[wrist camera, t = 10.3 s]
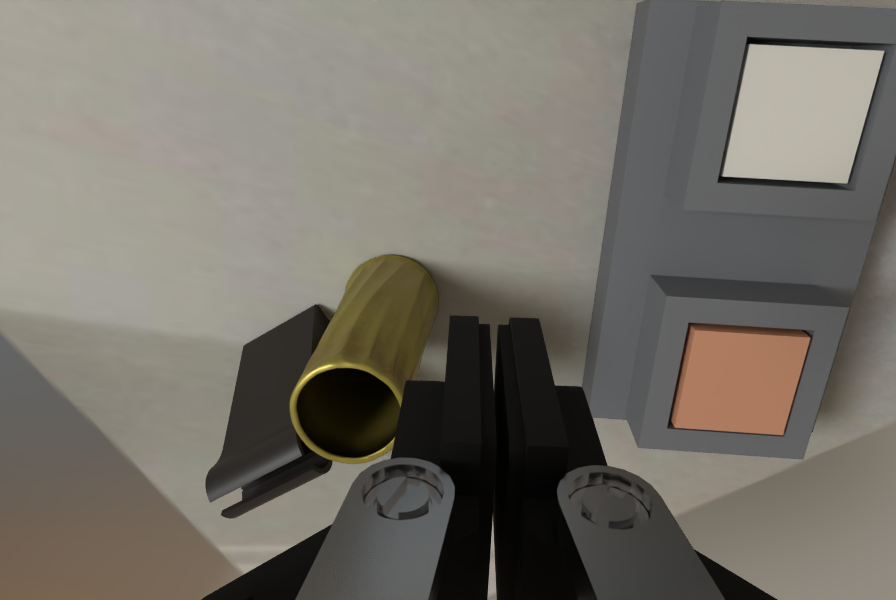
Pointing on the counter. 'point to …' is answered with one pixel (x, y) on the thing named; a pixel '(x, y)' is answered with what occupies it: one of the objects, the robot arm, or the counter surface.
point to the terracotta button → (738, 378)
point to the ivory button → (799, 112)
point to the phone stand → (268, 418)
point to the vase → (365, 361)
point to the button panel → (726, 217)
